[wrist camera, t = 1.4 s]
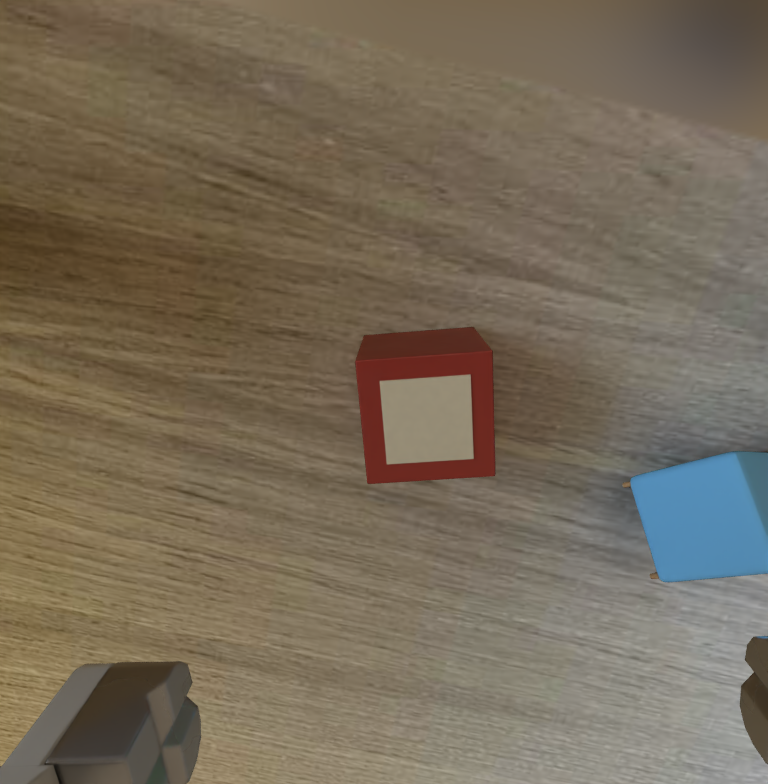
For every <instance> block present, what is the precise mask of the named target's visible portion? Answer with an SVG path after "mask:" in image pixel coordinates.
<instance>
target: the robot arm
mask: <svg viewBox="0 0 768 784" xmlns="http://www.w3.org/2000/svg"><path fill="white" fill-rule="evenodd" d="M745 661H746V662H747V663H748V665H749V666H750V667H751V668H752V670H753V671H754V673H753V674H752V675H751V676H750V677H749V678H748V679H747V680H746V681H745V682H744V683H743V684H742V686H741V696H740V709H741V713H742V717H743V721H744V725H745V728H746V730H747V732H748V734H749V737H750V739H751V741H752V743H753V745H754V746H755V748H756V749H757V751H758V752H759V754H760V755H761V757H762V758H763V760H764V761H765V763H767V764H768V636H758V637H753V638H752V639H751V641H750V642H749V643H748V645H747V649H746V656H745ZM192 683H193V682H192V679H191V675H190V671H189V668H188V664H185V663H183V662H120V663H116V664H84V665H83V666H81V667H79V668H77V669H76V670H75V671H74V672H73V673H72V674H71V676H70V677H69V678H68V680H67V681H66V682H65V683H64V685H63V686H62V687H61V689H60V690H59V691H58V693H57V694H56V695H55V697H54V698H53V699H52V701H51V702H50V703H49V705H48V706H47V707H46V709H45V710H44V711H43V713H42V714H41V715H40V716H39V718H38V719H37V720H36V722H35V723H34V724H33V726H32V727H31V728H30V730H29V731H28V732H27V734H26V735H25V736H24V738H23V739H22V740H21V742H20V743H19V744H18V746H17V747H16V748H15V749H14V751H13V752H12V753H11V755H10V756H9V757H8V759H7V760H6V761H5V763H4V764H3V765H2V766H1V767H0V784H187V783H188V782H189V780H190V778H191V775H192V772H193V769H194V767H195V764H196V761H197V757H198V751H199V745H200V740H201V719H200V715H199V710H198V706H197V705H196V704H195V703H193V702H192V701H191V700H190V699H189V698H188V697H187V694H188V691H189V689H190V687H191V685H192Z"/></svg>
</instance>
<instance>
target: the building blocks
mask: <svg viewBox="0 0 768 784" xmlns="http://www.w3.org/2000/svg"><path fill="white" fill-rule="evenodd" d="M622 485H623V487H624V488H626V487H629V488H630V487H631V488H632V491H633V495H634V498H635V501H636V505H637V508H638V511H639V514H640V518H641V521H642V524H643V528H644V531H645V534H646V537H647V541H648V544H649V547H650V550H651V554H652V557H653V560H654V564H655V567H656V570H657V572H655V573H652V574H650V578H651V579H657V578H660V580H661V581H663V582H680V581H691V580H702V579H713V578H724V577H735V576H746V575H757V574H768V453H767V452H746V451H733V452H727V453H723V454H719V455H715V456H711V457H707V458H703V459H699V460H695V461H691V462H687V463H683V464H679V465H675V466H671V467H667V468H663V469H659V470H655V471H651V472H647V473H643V474H640V475H636V476H634V477H632V478H631V480H630V481H629V482H625V483H623V484H622Z"/></svg>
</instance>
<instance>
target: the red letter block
mask: <svg viewBox="0 0 768 784" xmlns="http://www.w3.org/2000/svg"><path fill="white" fill-rule="evenodd" d="M355 364H356V374H357V384H358V394H359V404H360V415H361V425H362V435H363V445H364V455H365V465H366V475H367V483H368V484H375V483H391V482H407V481H423V480H439V479H455V478H471V477H487V476H495V432H494V389H493V351H492V350H491V349H490V347H489V346H488V345H487V344H486V342H485V341H484V340H483V338H482V337H481V336H480V335H479V333H478V332H477V331H476V330H475V328H474V327H467V328H454V329H441V330H427V331H414V332H401V333H388V334H375V335H364V337H363V340H362V343H361V346H360V349H359V352H358V355H357V358H356V361H355Z"/></svg>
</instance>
